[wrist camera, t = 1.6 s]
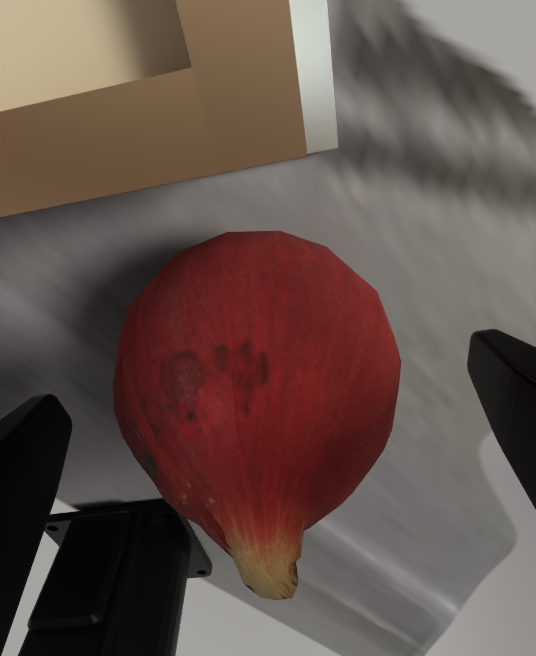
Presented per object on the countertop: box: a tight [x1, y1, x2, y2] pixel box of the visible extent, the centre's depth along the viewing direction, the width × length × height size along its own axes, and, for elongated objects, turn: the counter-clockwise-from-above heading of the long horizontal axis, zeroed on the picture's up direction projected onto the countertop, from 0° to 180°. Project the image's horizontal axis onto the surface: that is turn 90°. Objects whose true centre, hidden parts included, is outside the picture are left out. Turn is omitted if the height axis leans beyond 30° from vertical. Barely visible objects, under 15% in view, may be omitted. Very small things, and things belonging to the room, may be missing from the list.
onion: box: [113, 231, 401, 600], centre depth 8 cm, size 6×6×8 cm
